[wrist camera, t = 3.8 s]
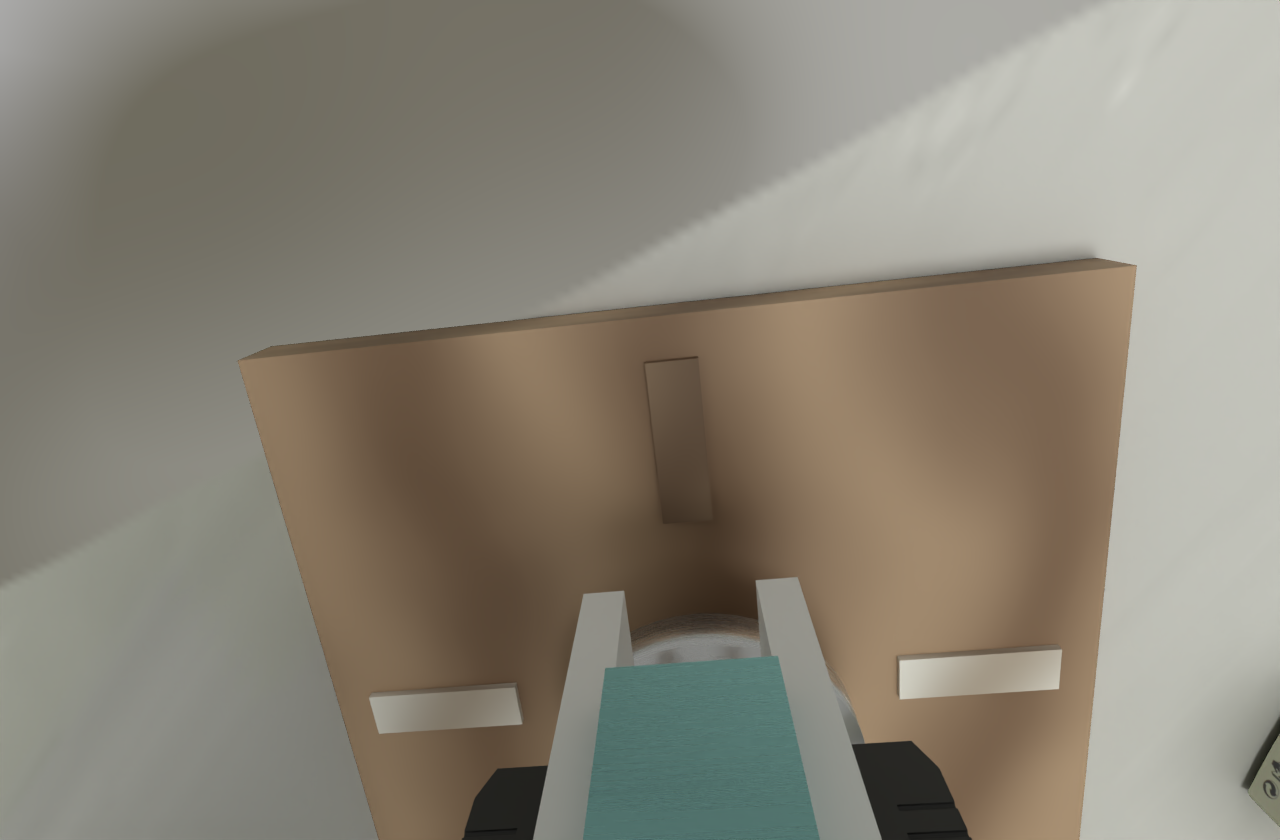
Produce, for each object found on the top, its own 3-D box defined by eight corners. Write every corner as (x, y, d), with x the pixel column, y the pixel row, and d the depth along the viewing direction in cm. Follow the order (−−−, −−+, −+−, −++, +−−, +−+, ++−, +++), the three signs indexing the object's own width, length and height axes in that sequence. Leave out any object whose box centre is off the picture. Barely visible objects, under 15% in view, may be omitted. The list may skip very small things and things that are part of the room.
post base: (432, 924, 24) (401, 1022, 22) (271, 346, 18) (197, 377, 15) (1044, 895, 23) (1096, 997, 20) (1096, 258, 17) (1184, 274, 14)
